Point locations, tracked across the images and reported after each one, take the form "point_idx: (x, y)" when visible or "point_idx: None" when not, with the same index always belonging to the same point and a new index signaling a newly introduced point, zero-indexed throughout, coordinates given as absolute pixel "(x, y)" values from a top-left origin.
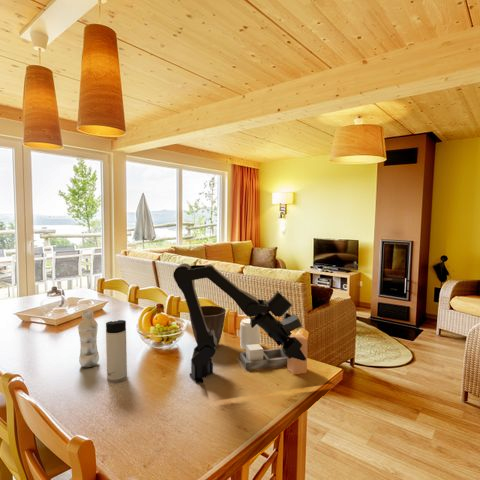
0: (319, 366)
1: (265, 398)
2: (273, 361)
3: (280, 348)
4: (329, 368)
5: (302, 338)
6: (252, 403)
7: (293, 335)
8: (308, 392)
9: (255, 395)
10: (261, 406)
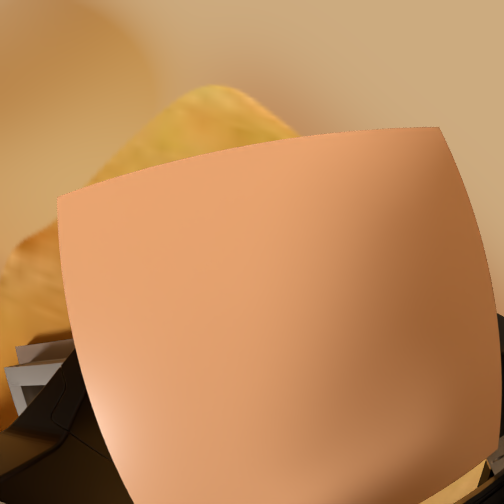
0: (164, 153)
1: None
2: None
3: (10, 378)
4: (195, 110)
5: (418, 230)
6: (465, 489)
7: (156, 465)
8: None
9: (431, 497)
10: (484, 461)
